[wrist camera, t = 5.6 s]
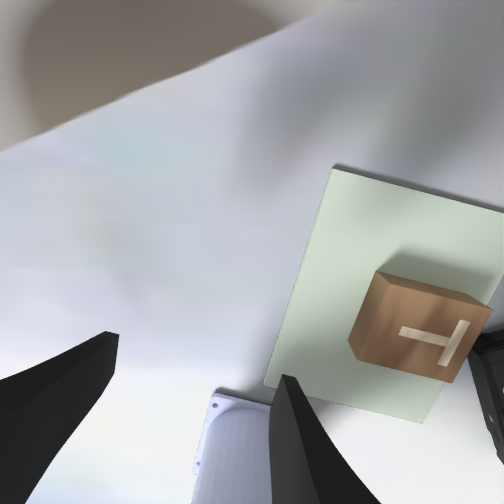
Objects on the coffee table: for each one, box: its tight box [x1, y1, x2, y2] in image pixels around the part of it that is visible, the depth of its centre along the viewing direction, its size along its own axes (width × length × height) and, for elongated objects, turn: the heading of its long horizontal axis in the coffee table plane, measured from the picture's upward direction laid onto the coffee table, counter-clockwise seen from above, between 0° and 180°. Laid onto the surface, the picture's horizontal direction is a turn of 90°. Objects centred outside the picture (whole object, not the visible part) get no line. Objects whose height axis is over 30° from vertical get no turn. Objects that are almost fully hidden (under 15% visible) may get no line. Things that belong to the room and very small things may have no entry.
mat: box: [263, 168, 504, 424], centre depth 21 cm, size 18×14×1 cm
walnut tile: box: [348, 271, 493, 383], centre depth 20 cm, size 6×2×7 cm
